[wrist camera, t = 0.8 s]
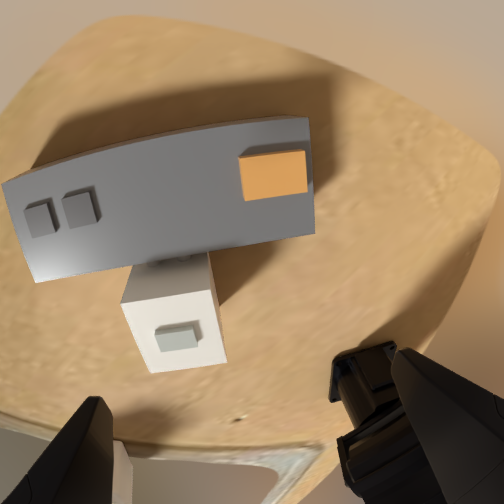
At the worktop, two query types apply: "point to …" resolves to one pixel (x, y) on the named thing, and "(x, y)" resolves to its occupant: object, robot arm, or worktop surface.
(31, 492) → the robot arm
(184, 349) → the charger
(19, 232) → the power strip
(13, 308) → the worktop surface
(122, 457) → the medicine bottle
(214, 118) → the worktop surface
